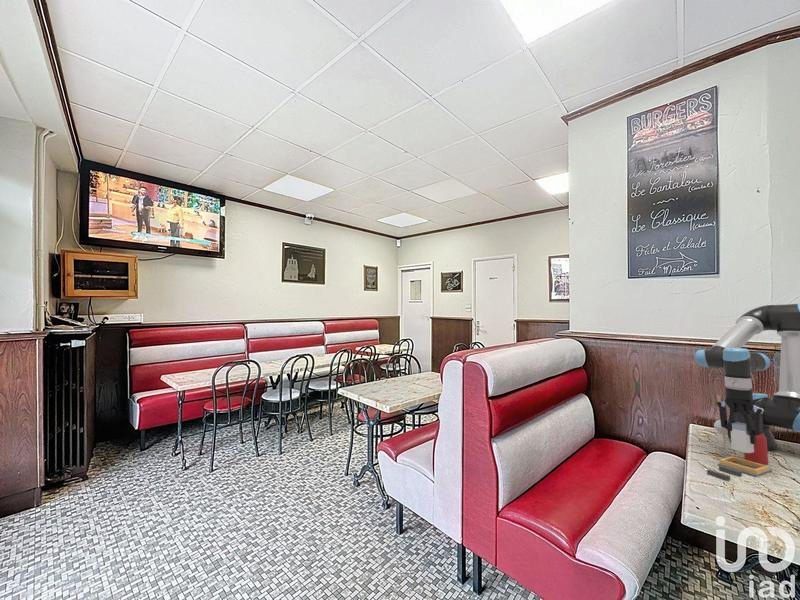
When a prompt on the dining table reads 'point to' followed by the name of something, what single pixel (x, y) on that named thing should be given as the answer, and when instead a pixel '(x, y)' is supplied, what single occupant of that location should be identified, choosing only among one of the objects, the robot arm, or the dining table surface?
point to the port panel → (744, 466)
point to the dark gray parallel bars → (724, 476)
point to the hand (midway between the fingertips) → (742, 449)
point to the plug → (740, 436)
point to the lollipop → (721, 431)
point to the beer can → (759, 451)
